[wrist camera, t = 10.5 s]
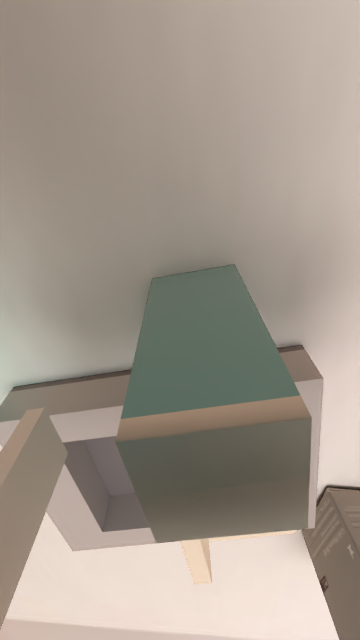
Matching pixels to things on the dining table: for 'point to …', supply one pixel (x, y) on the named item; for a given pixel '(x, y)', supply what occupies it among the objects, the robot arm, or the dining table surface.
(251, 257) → the dining table surface
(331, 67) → the dining table surface
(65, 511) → the socket plate
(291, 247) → the dining table surface
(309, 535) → the skincare box
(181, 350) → the green rectangular box
